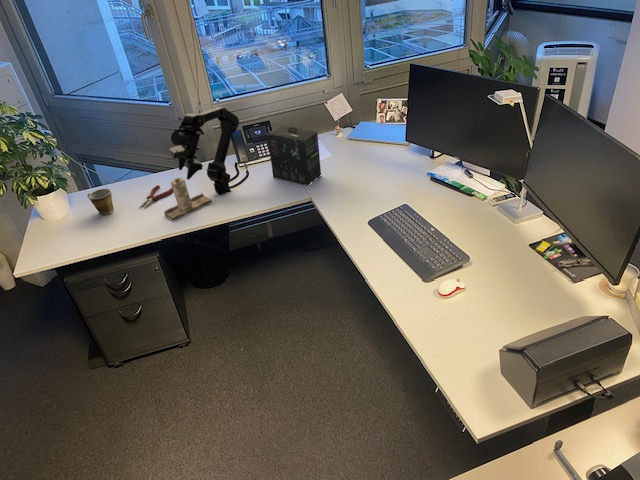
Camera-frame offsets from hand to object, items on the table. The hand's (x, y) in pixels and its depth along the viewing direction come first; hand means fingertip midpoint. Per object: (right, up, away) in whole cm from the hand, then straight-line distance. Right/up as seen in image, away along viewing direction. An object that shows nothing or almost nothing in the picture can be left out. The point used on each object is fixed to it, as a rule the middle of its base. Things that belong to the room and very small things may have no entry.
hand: (184, 174), depth 212 cm
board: (0, -15, +7) cm, 17 cm away
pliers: (-21, -9, +20) cm, 30 cm away
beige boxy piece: (-1, -15, +5) cm, 15 cm away
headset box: (+51, +2, +23) cm, 56 cm away
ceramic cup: (-42, -16, +12) cm, 47 cm away
